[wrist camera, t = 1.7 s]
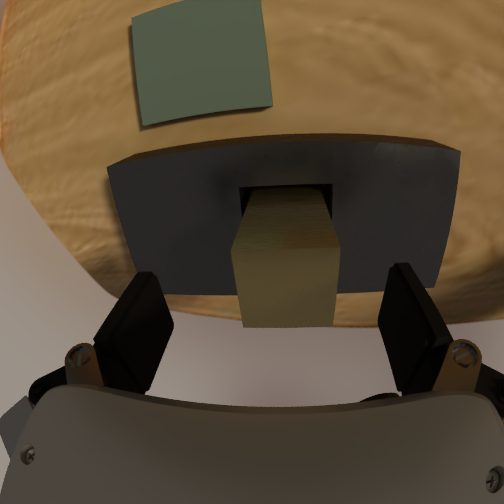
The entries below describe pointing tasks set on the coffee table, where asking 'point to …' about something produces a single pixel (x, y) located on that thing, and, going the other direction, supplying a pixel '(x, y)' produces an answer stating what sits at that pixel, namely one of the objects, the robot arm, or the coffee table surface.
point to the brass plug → (286, 259)
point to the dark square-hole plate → (287, 173)
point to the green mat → (200, 59)
